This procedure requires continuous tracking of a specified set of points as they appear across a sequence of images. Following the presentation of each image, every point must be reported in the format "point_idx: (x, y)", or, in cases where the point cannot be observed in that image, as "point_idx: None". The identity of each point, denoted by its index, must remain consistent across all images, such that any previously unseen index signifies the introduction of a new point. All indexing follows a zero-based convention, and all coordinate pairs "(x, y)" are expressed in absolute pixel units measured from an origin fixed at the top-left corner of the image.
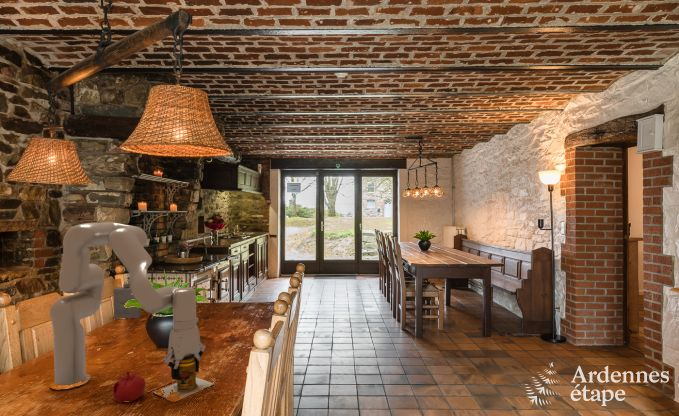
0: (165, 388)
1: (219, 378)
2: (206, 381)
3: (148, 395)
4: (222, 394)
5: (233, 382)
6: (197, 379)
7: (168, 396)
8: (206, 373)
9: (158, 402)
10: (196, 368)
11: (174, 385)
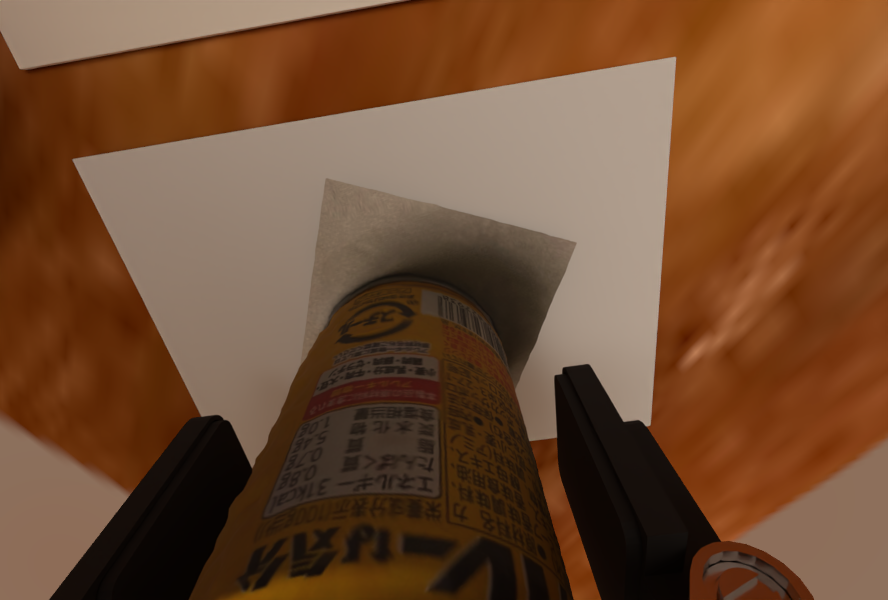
0: (235, 162)
1: (793, 321)
2: (647, 337)
3: (38, 142)
4: (564, 559)
5: (768, 470)
6: (633, 213)
7: (214, 372)
8: (869, 58)
9: (126, 372)
10: (576, 514)
11: (343, 187)
